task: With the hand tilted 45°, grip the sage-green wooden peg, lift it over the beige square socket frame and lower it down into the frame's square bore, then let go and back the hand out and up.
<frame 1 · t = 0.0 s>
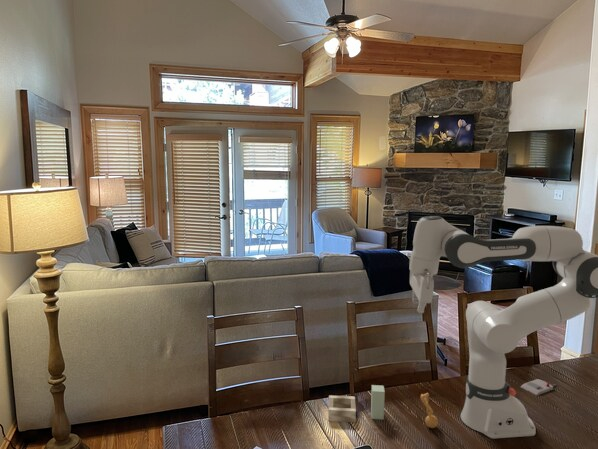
hand: (417, 307, 143), 39 cm above the table, tool pointing down, fingers open, 8 cm apart
beige square socket frame: (341, 413, 151), on the table
sage-green peg: (377, 415, 150), on the table
figurine: (428, 427, 143), on the table
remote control: (538, 389, 168), on the table
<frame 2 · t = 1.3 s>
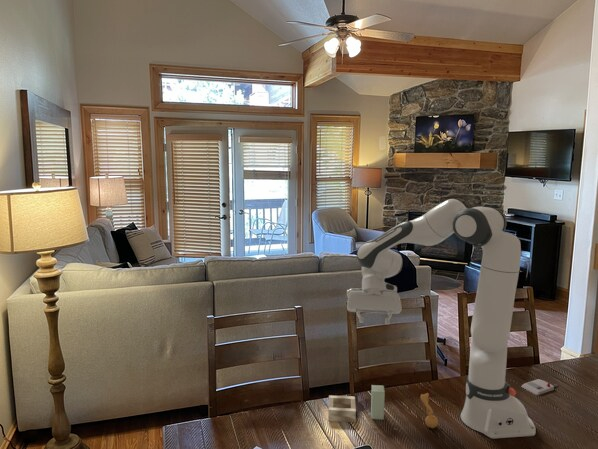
hand: (374, 323, 162), 26 cm above the table, tool tilted 45°, fingers open, 8 cm apart
nothing on the table moved.
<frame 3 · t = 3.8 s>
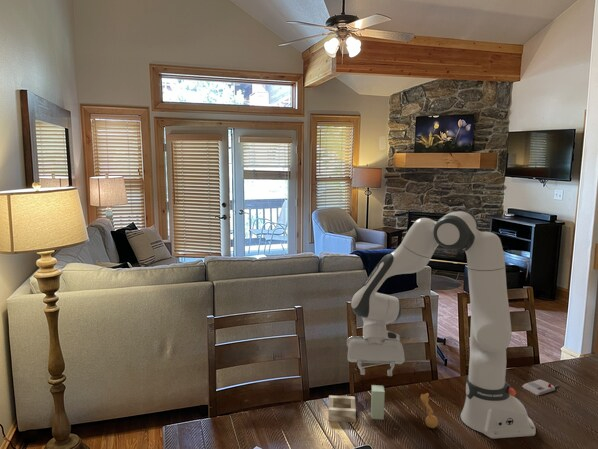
hand: (376, 374, 155), 11 cm above the table, tool tilted 45°, fingers open, 8 cm apart
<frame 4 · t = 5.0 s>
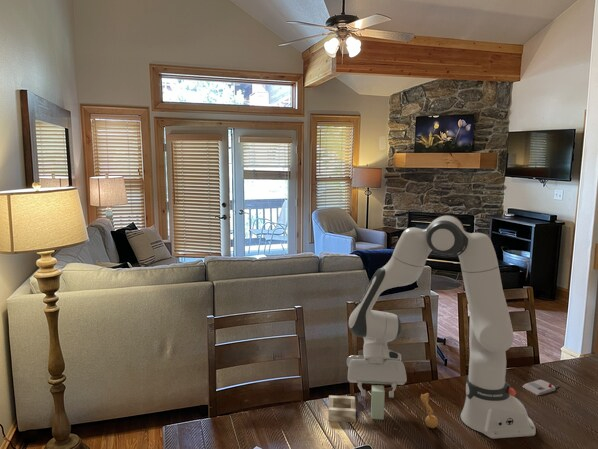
hand: (377, 396, 149), 7 cm above the table, tool tilted 45°, fingers open, 8 cm apart
nothing on the table moved.
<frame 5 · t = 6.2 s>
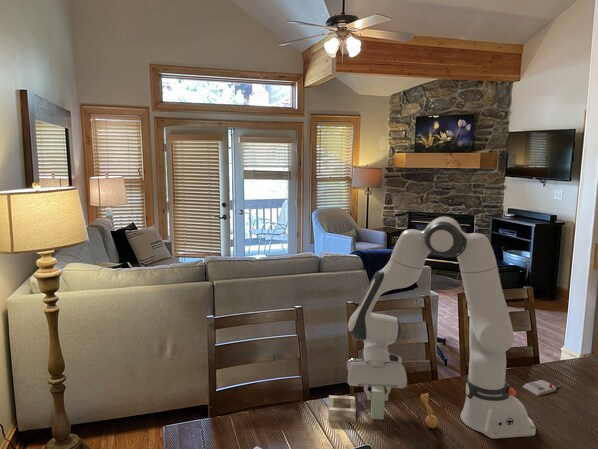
hand: (377, 399, 148), 6 cm above the table, tool tilted 45°, fingers closed on sage-green peg, 4 cm apart
sage-green peg: (377, 415, 150), on the table, touching gripper
everything else where it was.
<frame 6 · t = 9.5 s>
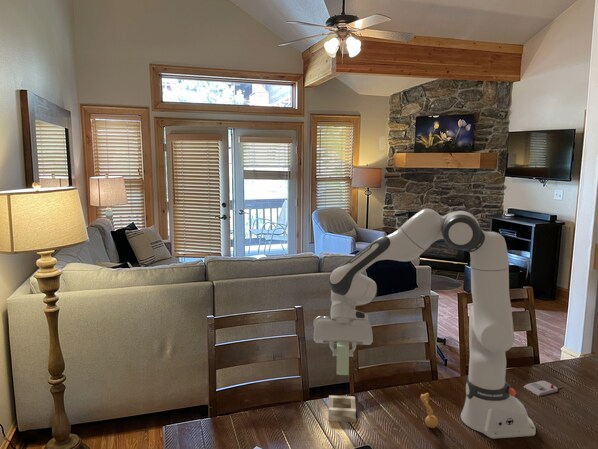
hand: (342, 355, 147), 21 cm above the table, tool tilted 45°, fingers closed on sage-green peg, 4 cm apart
sage-green peg: (342, 371, 148), point 15 cm above the table, touching gripper
when the fingers open (8 cm above the table, at t = 13.3 s): sage-green peg drops 2 cm, resting in beige square socket frame.
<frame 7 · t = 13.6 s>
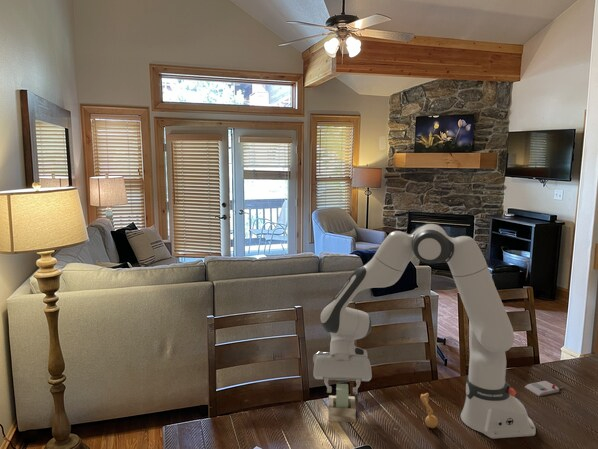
hand: (342, 392, 149), 8 cm above the table, tool tilted 45°, fingers open, 7 cm apart
sage-green peg: (341, 413, 151), resting in beige square socket frame
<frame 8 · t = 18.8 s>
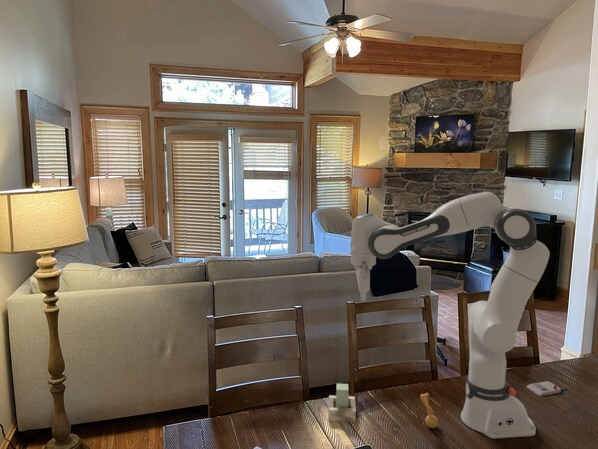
hand: (362, 296, 159), 37 cm above the table, tool pointing down, fingers open, 8 cm apart
at the end: sage-green peg 0.1 cm off-centre on the beige square socket frame, point 0.0 cm above the beige square socket frame's base; sage-green peg tilted 0°; the gripper is holding nothing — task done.
